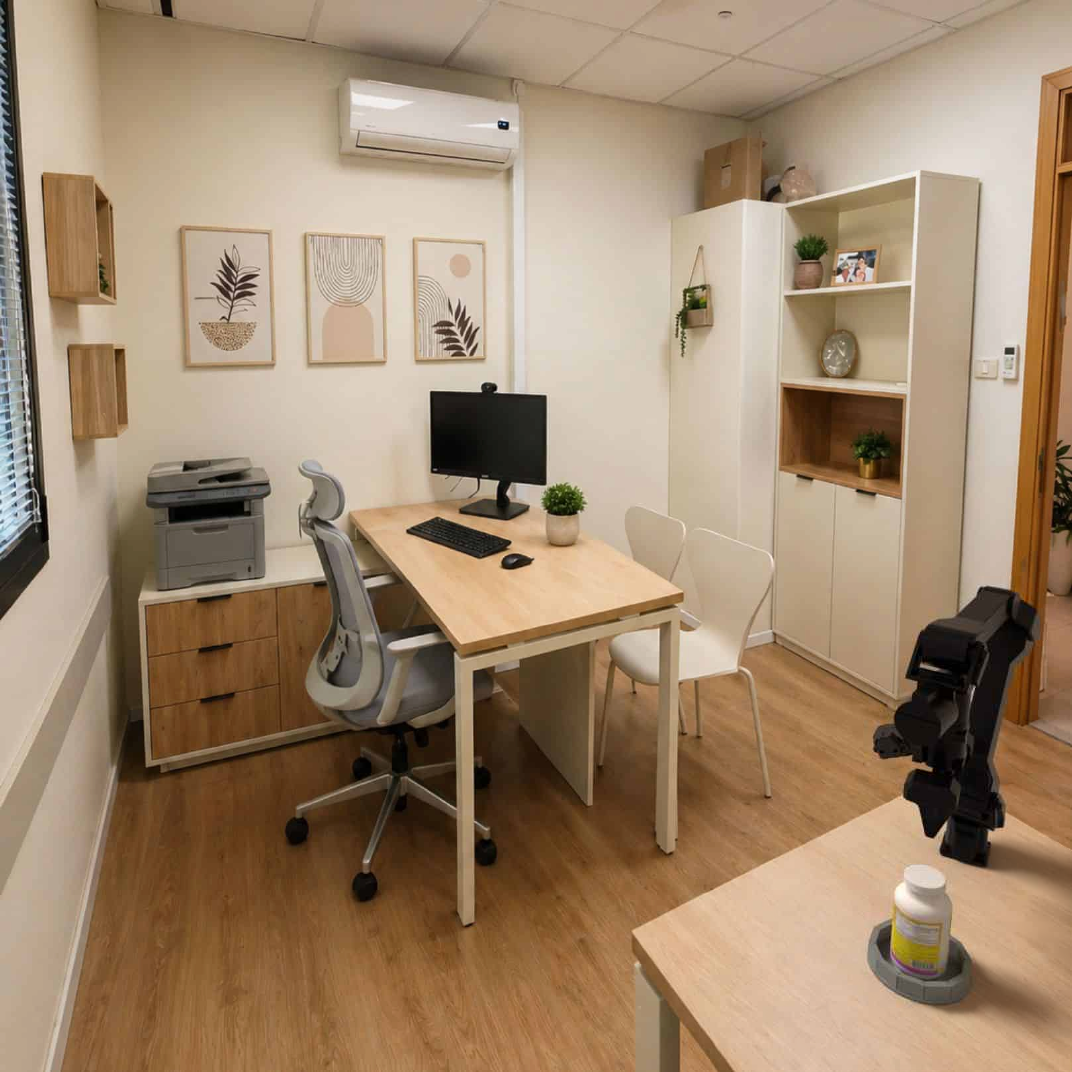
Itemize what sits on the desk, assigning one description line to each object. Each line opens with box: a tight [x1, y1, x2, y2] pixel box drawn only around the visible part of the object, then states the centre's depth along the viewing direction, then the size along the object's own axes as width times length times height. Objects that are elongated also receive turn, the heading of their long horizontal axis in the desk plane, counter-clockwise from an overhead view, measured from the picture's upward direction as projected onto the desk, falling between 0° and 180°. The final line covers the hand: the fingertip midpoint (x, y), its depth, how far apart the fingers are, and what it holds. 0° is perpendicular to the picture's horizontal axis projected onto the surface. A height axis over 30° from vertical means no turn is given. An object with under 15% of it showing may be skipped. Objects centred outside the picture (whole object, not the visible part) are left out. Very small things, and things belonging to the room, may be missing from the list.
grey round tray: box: [866, 918, 973, 1006], centre depth 104 cm, size 12×12×2 cm
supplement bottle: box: [890, 864, 953, 980], centre depth 103 cm, size 7×7×13 cm
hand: (935, 819), depth 113 cm, fingers open, 9 cm apart
